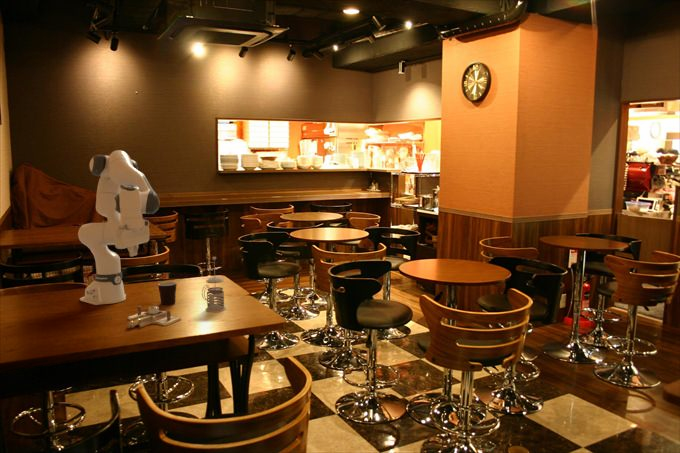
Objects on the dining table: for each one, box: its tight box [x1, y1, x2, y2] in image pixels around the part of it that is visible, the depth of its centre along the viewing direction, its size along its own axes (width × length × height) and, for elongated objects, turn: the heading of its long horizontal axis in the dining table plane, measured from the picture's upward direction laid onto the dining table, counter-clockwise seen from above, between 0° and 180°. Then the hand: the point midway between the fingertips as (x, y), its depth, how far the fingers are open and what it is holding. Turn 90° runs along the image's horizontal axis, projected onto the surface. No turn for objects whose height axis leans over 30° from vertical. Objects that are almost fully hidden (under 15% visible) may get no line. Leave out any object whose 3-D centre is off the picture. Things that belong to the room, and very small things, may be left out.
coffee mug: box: [157, 281, 178, 307], centre depth 271 cm, size 12×9×10 cm
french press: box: [201, 256, 227, 313], centre depth 258 cm, size 10×12×25 cm
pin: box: [126, 316, 146, 330], centre depth 236 cm, size 9×3×3 cm, turn 155°
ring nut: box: [147, 305, 160, 316], centre depth 244 cm, size 4×4×5 cm
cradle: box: [127, 305, 182, 328], centre depth 241 cm, size 22×15×5 cm
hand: (133, 255), depth 238 cm, fingers closed
